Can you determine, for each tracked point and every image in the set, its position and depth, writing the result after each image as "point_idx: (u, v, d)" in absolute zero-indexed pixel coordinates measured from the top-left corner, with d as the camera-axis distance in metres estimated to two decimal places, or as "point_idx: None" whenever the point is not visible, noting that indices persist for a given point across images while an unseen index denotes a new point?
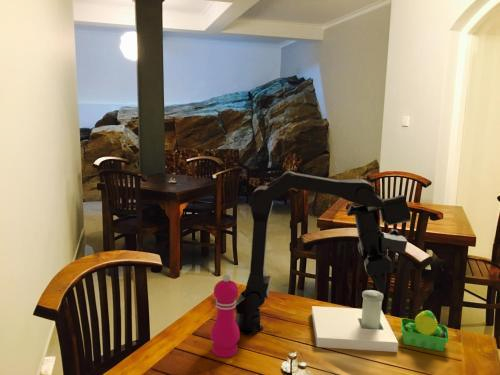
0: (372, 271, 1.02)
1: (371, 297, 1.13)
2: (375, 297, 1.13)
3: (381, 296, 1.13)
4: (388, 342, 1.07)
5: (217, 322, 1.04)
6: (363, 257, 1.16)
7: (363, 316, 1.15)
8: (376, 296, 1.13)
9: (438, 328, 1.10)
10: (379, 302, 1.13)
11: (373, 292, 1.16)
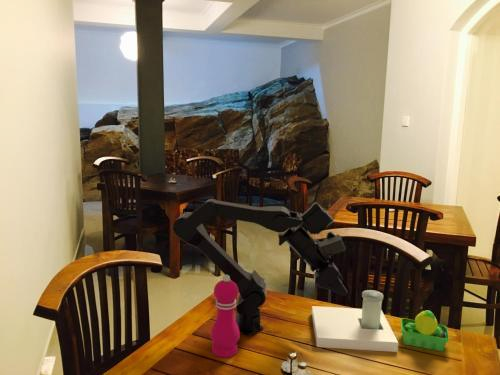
0: (322, 284, 1.05)
1: (371, 297, 1.13)
2: (375, 297, 1.13)
3: (381, 296, 1.13)
4: (388, 342, 1.07)
5: (217, 322, 1.04)
6: None
7: (363, 316, 1.15)
8: (376, 296, 1.13)
9: (438, 328, 1.10)
10: (379, 302, 1.13)
11: (373, 292, 1.16)
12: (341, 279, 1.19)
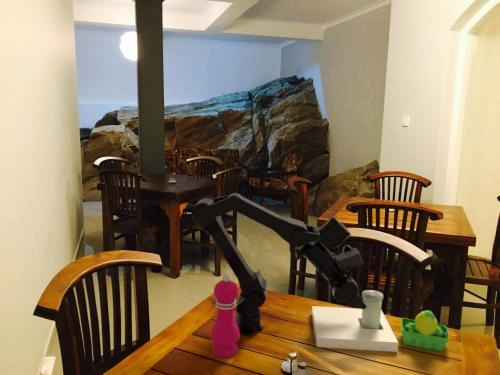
0: (341, 299, 1.06)
1: (371, 297, 1.13)
2: (375, 297, 1.13)
3: (381, 296, 1.13)
4: (388, 342, 1.07)
5: (217, 322, 1.04)
6: None
7: (363, 316, 1.15)
8: (376, 296, 1.13)
9: (438, 328, 1.10)
10: (379, 302, 1.13)
11: (373, 292, 1.16)
12: (358, 292, 1.19)
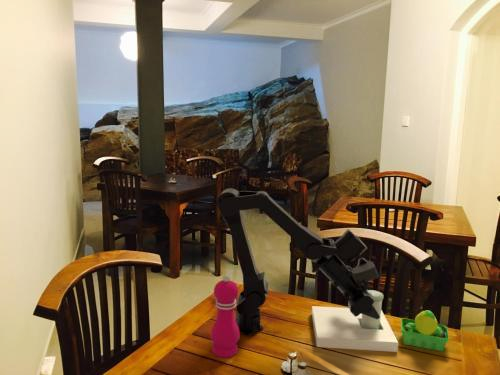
0: (358, 313, 1.06)
1: None
2: (375, 297, 1.13)
3: (381, 296, 1.13)
4: (388, 342, 1.07)
5: (217, 322, 1.04)
6: None
7: (363, 316, 1.15)
8: (376, 296, 1.13)
9: (438, 328, 1.10)
10: (379, 302, 1.13)
11: (373, 292, 1.16)
12: None
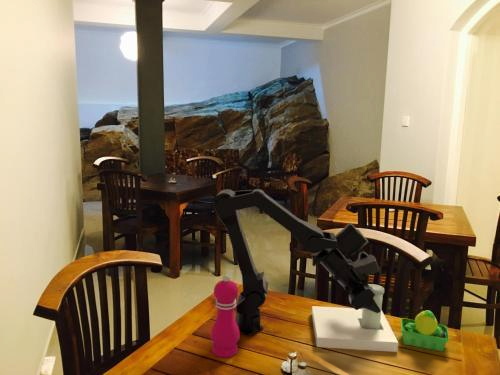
0: (359, 306, 1.05)
1: None
2: (376, 291, 1.12)
3: (382, 290, 1.13)
4: (388, 342, 1.07)
5: (217, 322, 1.04)
6: (352, 291, 1.18)
7: (364, 310, 1.14)
8: (377, 290, 1.13)
9: (438, 328, 1.10)
10: (380, 296, 1.12)
11: (374, 286, 1.15)
12: None
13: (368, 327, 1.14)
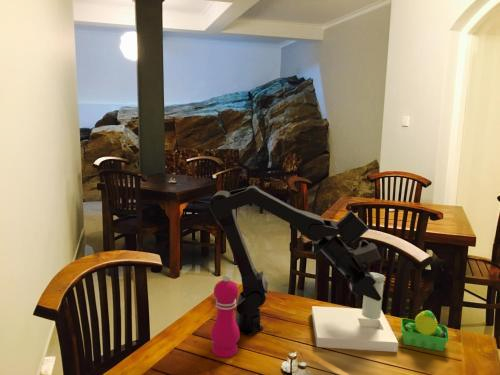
0: (359, 293, 1.05)
1: None
2: (377, 279, 1.12)
3: (383, 278, 1.13)
4: (388, 342, 1.07)
5: (217, 322, 1.04)
6: None
7: (364, 298, 1.14)
8: (378, 278, 1.12)
9: (438, 328, 1.10)
10: (381, 284, 1.12)
11: (375, 274, 1.15)
12: None
13: (369, 315, 1.13)
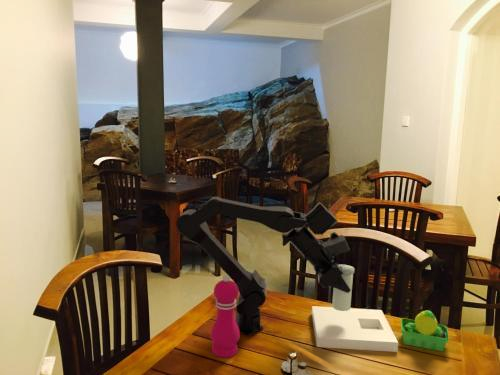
0: (326, 284, 1.05)
1: (342, 270, 1.12)
2: (346, 270, 1.12)
3: (352, 270, 1.13)
4: (388, 342, 1.07)
5: (217, 322, 1.04)
6: None
7: (334, 290, 1.14)
8: (347, 270, 1.13)
9: (438, 328, 1.10)
10: (350, 275, 1.12)
11: (345, 266, 1.15)
12: None
13: (338, 307, 1.14)
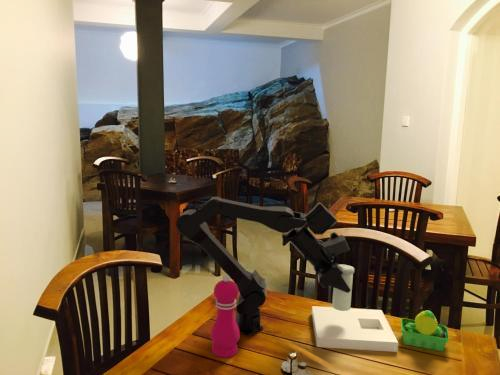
0: (326, 284, 1.05)
1: (342, 270, 1.12)
2: (346, 270, 1.12)
3: (352, 269, 1.13)
4: (388, 342, 1.07)
5: (217, 322, 1.04)
6: None
7: (334, 290, 1.14)
8: (347, 269, 1.13)
9: (438, 328, 1.10)
10: (350, 275, 1.12)
11: (345, 266, 1.15)
12: None
13: (338, 307, 1.14)
